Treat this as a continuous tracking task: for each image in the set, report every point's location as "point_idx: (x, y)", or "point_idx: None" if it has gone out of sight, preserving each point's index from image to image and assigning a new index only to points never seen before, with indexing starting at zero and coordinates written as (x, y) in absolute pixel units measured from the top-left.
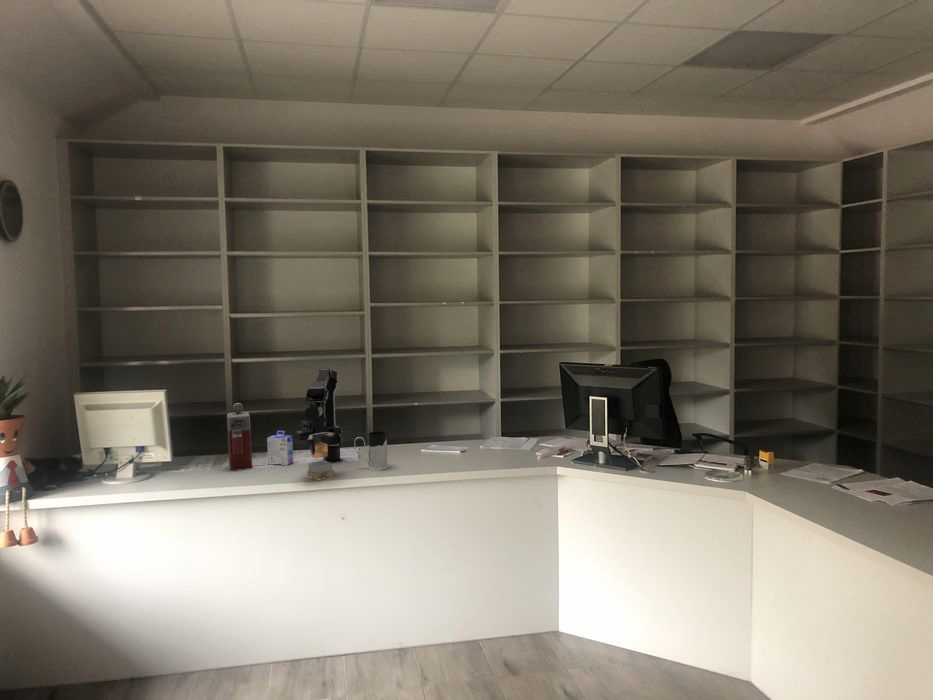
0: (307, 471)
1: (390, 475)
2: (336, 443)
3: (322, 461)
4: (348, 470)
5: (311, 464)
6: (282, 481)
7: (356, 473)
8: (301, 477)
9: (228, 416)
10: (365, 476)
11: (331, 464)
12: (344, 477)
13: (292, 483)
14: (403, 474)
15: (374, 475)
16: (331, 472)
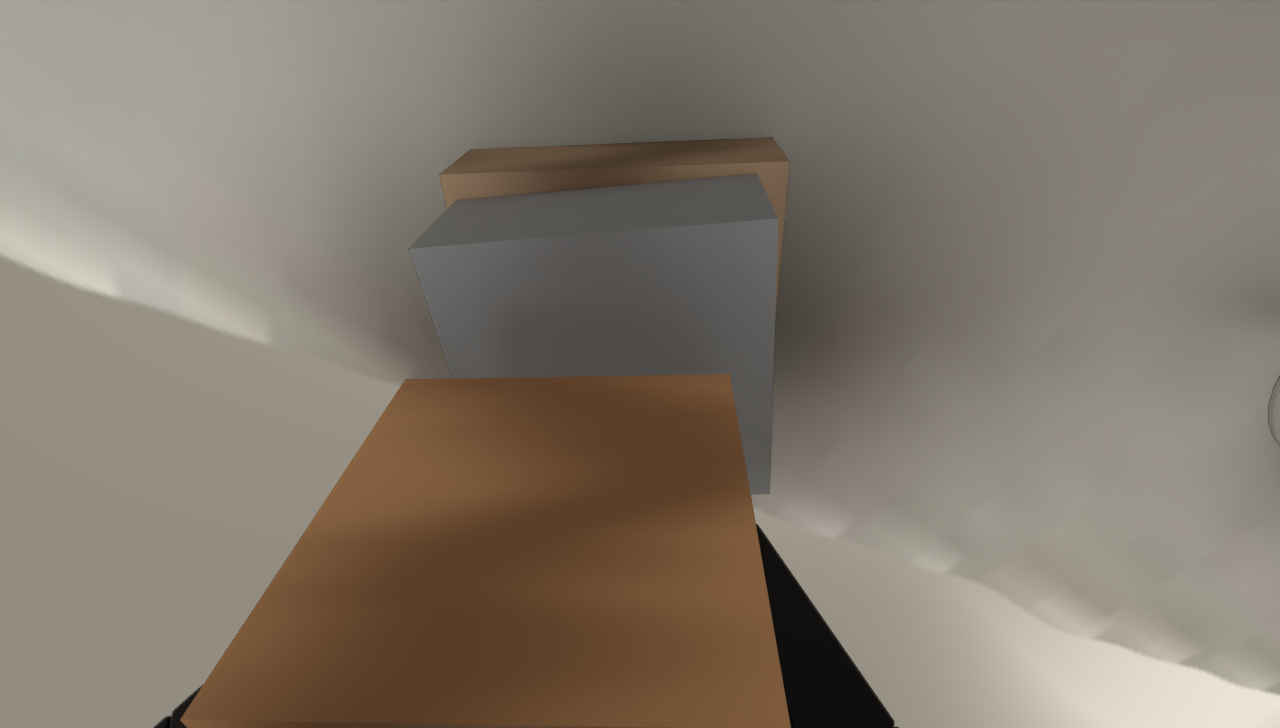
0: (446, 171)
1: (1166, 624)
2: None
3: (703, 302)
4: (1096, 233)
5: (447, 363)
6: (88, 169)
7: (1036, 413)
8: (374, 143)
9: None
10: (1000, 541)
11: (755, 483)
12: (828, 461)
13: (235, 332)
14: (1256, 654)
15: (1083, 560)
16: None
